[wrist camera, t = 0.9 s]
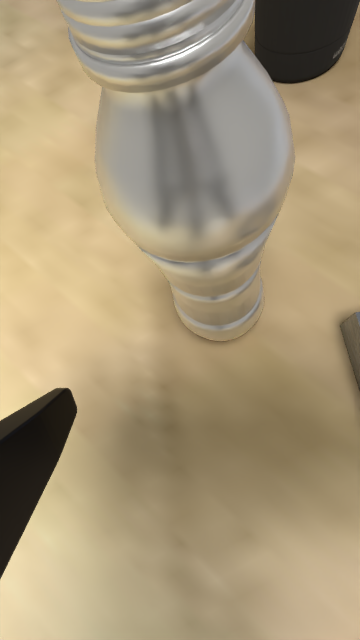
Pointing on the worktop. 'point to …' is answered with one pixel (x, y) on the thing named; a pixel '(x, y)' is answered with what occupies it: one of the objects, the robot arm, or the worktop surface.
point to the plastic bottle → (188, 146)
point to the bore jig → (353, 341)
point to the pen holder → (301, 36)
